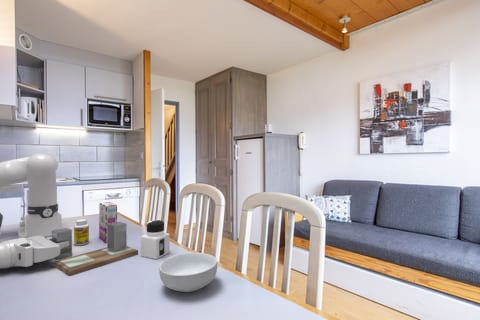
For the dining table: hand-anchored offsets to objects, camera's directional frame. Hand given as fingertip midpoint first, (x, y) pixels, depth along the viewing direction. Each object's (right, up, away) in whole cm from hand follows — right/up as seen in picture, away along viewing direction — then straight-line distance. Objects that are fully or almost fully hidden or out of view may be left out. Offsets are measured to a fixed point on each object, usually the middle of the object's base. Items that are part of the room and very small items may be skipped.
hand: (64, 241), depth 102 cm
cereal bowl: (+52, -6, -23) cm, 57 cm away
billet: (+19, -4, +2) cm, 20 cm away
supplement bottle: (-2, -6, +14) cm, 15 cm away
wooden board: (+15, -6, -4) cm, 16 cm away
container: (+34, -6, +2) cm, 35 cm away
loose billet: (-1, -6, -1) cm, 6 cm away
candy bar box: (+7, -6, +20) cm, 22 cm away
